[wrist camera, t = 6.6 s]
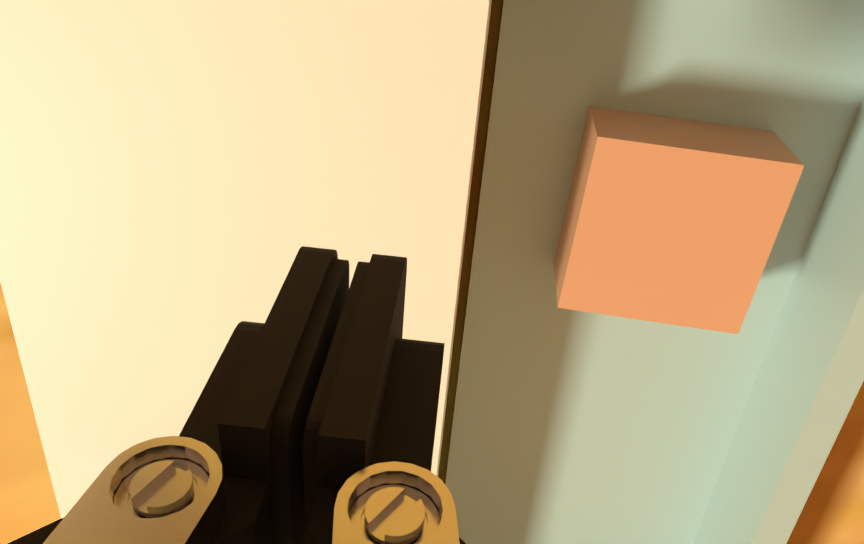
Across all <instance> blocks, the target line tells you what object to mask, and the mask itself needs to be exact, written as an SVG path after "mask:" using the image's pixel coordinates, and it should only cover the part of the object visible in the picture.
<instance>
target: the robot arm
mask: <svg viewBox="0 0 864 544" xmlns="http://www.w3.org/2000/svg"><path fill="white" fill-rule="evenodd" d="M406 274H407V257H398V256H389V255H380V254H372V257H371V260H370V262H360V261H359V262H358V263H357V266H356V269H355V272H354V275H353V278H352V281H351V285H350V288H349V261H348V260H342V259H338V254H337V251H336V250H333V249H323V248H314V247H305V246H302V247H301V248H300V249H299V251H298V253H297V255H296V257H295V260H294V262H293V264H292V266H291V268H290V270H289V272H288V275H287V277H286V279H285V281H284V283H283V285H282V287H281V289H280V292H279V294H278V296H277V298H276V300H275V302H274V304H273V307H272V309H271V311H270V313H269V315H268V317H267V319H266V322H265V323H257V322H248V321H242V322H240V323H238V325H237V326H236V328H235V329H234V331H233V333H232V335H231V337H230V339H229V341H228V343H227V345H226V346H225V348H224V350H223V352H222V354H221V356H220V358H219V360H218V362H217V364H216V366H215V368H214V369H213V371H212V373H211V375H210V377H209V379H208V381H207V383H206V385H205V387H204V389H203V391H202V392H201V394H200V396H199V398H198V400H197V402H196V404H195V406H194V408H193V410H192V412H191V414H190V416H189V417H188V419H187V421H186V423H185V425H184V427H183V429H182V431H181V433H180V435H179V436H168V437H159V438H153V439H150V440H147V441H144V442H141V443H138V444H136V445H134V446H132V447H130V448H129V449H127V450H125V451H123V452H122V453H120V454H119V455H118V456H117V457H116V458H115V459H113V460H112V461H111V462H110V463H109V464H108V465H107V466H106V467H105V468H104V470H103V471H102V472H101V473H100V474H99V476H98V477H97V478H96V479H95V481H94V482H93V483H92V484H91V485H90V487H89V488H88V489H87V490H86V492H85V493H84V494H83V495H82V496H81V498H80V499H79V500H78V501H77V502H76V504H75V505H74V506H73V507H72V509H71V510H70V511H69V512H68V513H67V515H66V516H65V517H64V518H62V519H60V520H57V521H55V522H53V523H51V524H49V525H47V526H45V527H42V528H40V529H38V530H36V531H34V532H32V533H30V534H28V535H25V536H23V537H21V538H19V539H17V540H15V541H13V542H10V543H8V544H466V543H465V542H464V541H463V540H462V539H461V538H460V537H459V533H458V524H457V516H456V507H455V504H454V500H453V497H452V494H451V492H450V490H449V489H448V488H447V486H446V485H445V484H444V482H443V481H442V480H441V479H440V478H439V477H437V476H436V475H435V474H433V473H432V472H431V466H432V457H433V448H434V439H435V430H436V421H437V412H438V403H439V393H440V384H441V374H442V365H443V355H444V346H445V343H437V342H428V341H419V340H410V339H402V335H403V320H404V304H405V289H406Z"/></svg>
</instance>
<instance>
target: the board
mask: <svg viewBox="0 0 864 544" xmlns="http://www.w3.org/2000/svg"><path fill="white" fill-rule="evenodd" d="M491 6H492V0H0V282H1V286H2V290H3V294H4V297H5V301H6V305H7V309H8V313H9V317H10V321H11V325H12V329H13V332H14V336H15V340H16V344H17V348H18V352H19V356H20V360H21V364H22V368H23V371H24V375H25V379H26V383H27V387H28V391H29V395H30V399H31V403H32V406H33V410H34V414H35V418H36V422H37V426H38V430H39V434H40V438H41V442H42V445H43V449H44V453H45V457H46V461H47V465H48V469H49V473H50V477H51V480H52V484H53V488H54V492H55V496H56V500H57V504H58V508H59V512H60V516H61V519H62V518H64V517H65V516H66V515H67V513H68V512H69V511H70V510H71V509H72V507H73V506H74V505H75V504H76V502H77V501H78V500H79V499H80V498H81V496H82V495H83V494H84V493H85V492H86V490H87V489H88V488H89V487H90V485H91V484H92V483H93V482H94V481H95V479H96V478H97V477H98V476H99V474H100V473H101V472H102V471H103V470H104V468H105V467H106V466H107V465H108V464H109V463H110V462H111V461H112V460H113V459H115V458H116V457H117V456H118V455H119V454H120V453H122V452H123V451H125V450H127V449H129V448H130V447H132V446H134V445H136V444H138V443H141V442H144V441H147V440H150V439H153V438H159V437H168V436H179V435H180V433H181V431H182V429H183V427H184V425H185V423H186V421H187V419H188V417H189V416H190V414H191V412H192V410H193V408H194V406H195V404H196V402H197V400H198V398H199V396H200V394H201V392H202V391H203V389H204V387H205V385H206V383H207V381H208V379H209V377H210V375H211V373H212V371H213V369H214V368H215V366H216V364H217V362H218V360H219V358H220V356H221V354H222V352H223V350H224V348H225V346H226V345H227V343H228V341H229V339H230V337H231V335H232V333H233V331H234V329H235V328H236V326H237V325H238V323H240V322H242V321H248V322H257V323H265V322H266V319H267V317H268V315H269V313H270V311H271V309H272V307H273V304H274V302H275V300H276V298H277V296H278V294H279V292H280V289H281V287H282V285H283V283H284V281H285V279H286V277H287V275H288V272H289V270H290V268H291V266H292V264H293V262H294V260H295V257H296V255H297V253H298V251H299V249H300V248H301V247H302V246H305V247H314V248H323V249H333V250H336V251H337V254H338V259H342V260H348V261H349V288H350V285H351V281H352V278H353V275H354V272H355V269H356V266H357V263H358V262H359V261H360V262H370V260H371V257H372V254H380V255H389V256H398V257H407V274H406V289H405V304H404V320H403V335H402V339H410V340H419V341H428V342H437V343H445V346H444V355H443V365H442V374H441V384H440V393H439V403H438V412H437V421H436V430H435V439H434V448H433V457H432V466H431V472H432V473H433V474H435V475H436V476H437V477H438V474H439V465H440V457H441V448H442V439H443V430H444V421H445V412H446V404H447V395H448V386H449V377H450V368H451V359H452V351H453V342H454V333H455V324H456V315H457V306H458V297H459V289H460V280H461V271H462V262H463V253H464V244H465V236H466V227H467V218H468V209H469V200H470V191H471V183H472V174H473V165H474V156H475V147H476V138H477V130H478V121H479V112H480V103H481V94H482V85H483V77H484V68H485V59H486V50H487V41H488V32H489V23H490V15H491Z"/></svg>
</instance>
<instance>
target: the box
mask: <svg viewBox="0 0 864 544" xmlns="http://www.w3.org/2000/svg"><path fill="white" fill-rule="evenodd" d="M589 106H594V107H602V108H609V109H616V110H623V111H631V112H638V113H645V114H653V115H660V116H667V117H674V118H682V119H689V120H696V121H704V122H711V123H718V124H725V125H733V126H740V127H747V128H755V129H762V130H769V131H774V132H775V133H776V134H777V136H778V137H779V138H780V139H781V140H782V141H783V142H784V143H785V144H786V145H787V147H788V148H789V149H790V150H791V151H792V152H793V153H794V154H795V155H796V156H797V157H798V159H799V160H800V161H801V162H802V163H803V164H804V165H805V166H804V168H803V171H802V173H801V176H800V178H799V181H798V183H797V186H796V188H795V191H794V194H793V196H792V199H791V201H790V204H789V206H788V209H787V211H786V214H785V217H784V219H783V222H782V224H781V227H780V229H779V232H778V234H777V237H776V240H775V242H774V245H773V247H772V250H771V252H770V255H769V257H768V260H767V262H766V265H765V268H764V270H763V273H762V275H761V278H760V280H759V283H758V285H757V288H756V291H755V293H754V296H753V298H752V301H751V303H750V306H749V308H748V311H747V314H746V316H745V319H744V321H743V324H742V326H741V329H740V331H739V334H733V333H726V332H719V331H713V330H706V329H699V328H692V327H685V326H679V325H672V324H665V323H658V322H651V321H645V320H638V319H631V318H624V317H617V316H610V315H604V314H597V313H590V312H583V311H576V310H570V309H563V308H558V306H557V295H556V283H555V272H554V261H555V257H556V252H557V248H558V243H559V239H560V234H561V230H562V225H563V221H564V216H565V212H566V207H567V203H568V198H569V194H570V189H571V185H572V180H573V176H574V171H575V167H576V162H577V158H578V153H579V149H580V144H581V140H582V135H583V131H584V126H585V122H586V117H587V113H588V108H589ZM863 381H864V0H504V1H503V9H502V18H501V26H500V34H499V42H498V51H497V59H496V67H495V76H494V84H493V92H492V100H491V109H490V117H489V125H488V134H487V142H486V150H485V158H484V167H483V175H482V183H481V192H480V200H479V208H478V216H477V225H476V233H475V241H474V250H473V258H472V266H471V274H470V283H469V291H468V299H467V308H466V316H465V324H464V332H463V341H462V349H461V357H460V366H459V374H458V382H457V391H456V399H455V407H454V415H453V424H452V432H451V440H450V449H449V457H448V465H447V473H446V482H445V485H446V486H447V488H448V489H449V490H450V492H451V494H452V497H453V500H454V504H455V507H456V516H457V524H458V533H459V537H460V538H461V539H462V540H463V541H464V542H465V543H466V544H786V543H787V541H788V539H789V537H790V535H791V533H792V531H793V529H794V526H795V524H796V522H797V520H798V518H799V516H800V514H801V512H802V510H803V508H804V505H805V503H806V501H807V499H808V497H809V495H810V493H811V491H812V489H813V486H814V484H815V482H816V480H817V478H818V476H819V474H820V472H821V470H822V468H823V465H824V463H825V461H826V459H827V457H828V455H829V453H830V451H831V449H832V447H833V444H834V442H835V440H836V438H837V436H838V434H839V432H840V430H841V428H842V426H843V423H844V421H845V419H846V417H847V415H848V413H849V411H850V409H851V407H852V404H853V402H854V400H855V398H856V396H857V394H858V392H859V390H860V388H861V386H862V383H863Z"/></svg>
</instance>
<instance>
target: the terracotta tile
mask: <svg viewBox="0 0 864 544" xmlns="http://www.w3.org/2000/svg"><path fill="white" fill-rule="evenodd" d="M804 166H805V165H804V164H803V163H802V162H801V161H800V160H799V159H798V157H797V156H796V155H795V154H794V153H793V152H792V151H791V150H790V149H789V148H788V147H787V145H786V144H785V143H784V142H783V141H782V140H781V139H780V138H779V137H778V136H777V134H776V133H775V132H774V131H769V130H762V129H755V128H747V127H740V126H733V125H725V124H718V123H711V122H704V121H696V120H689V119H682V118H674V117H667V116H660V115H653V114H645V113H638V112H631V111H623V110H616V109H609V108H602V107H594V106H589V108H588V113H587V117H586V122H585V126H584V131H583V135H582V140H581V144H580V149H579V153H578V158H577V162H576V167H575V171H574V176H573V180H572V185H571V189H570V194H569V198H568V203H567V207H566V212H565V216H564V221H563V225H562V230H561V234H560V239H559V243H558V248H557V252H556V257H555V261H554V272H555V283H556V295H557V306H558V308H563V309H570V310H576V311H583V312H590V313H597V314H604V315H610V316H617V317H624V318H631V319H638V320H645V321H651V322H658V323H665V324H672V325H679V326H685V327H692V328H699V329H706V330H713V331H719V332H726V333H733V334H739V331H740V329H741V326H742V324H743V321H744V319H745V316H746V314H747V311H748V308H749V306H750V303H751V301H752V298H753V296H754V293H755V291H756V288H757V285H758V283H759V280H760V278H761V275H762V273H763V270H764V268H765V265H766V262H767V260H768V257H769V255H770V252H771V250H772V247H773V245H774V242H775V240H776V237H777V234H778V232H779V229H780V227H781V224H782V222H783V219H784V217H785V214H786V211H787V209H788V206H789V204H790V201H791V199H792V196H793V194H794V191H795V188H796V186H797V183H798V181H799V178H800V176H801V173H802V171H803V168H804Z"/></svg>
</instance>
